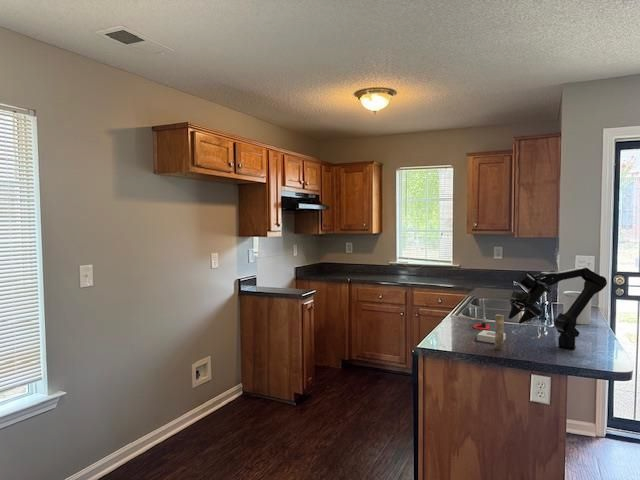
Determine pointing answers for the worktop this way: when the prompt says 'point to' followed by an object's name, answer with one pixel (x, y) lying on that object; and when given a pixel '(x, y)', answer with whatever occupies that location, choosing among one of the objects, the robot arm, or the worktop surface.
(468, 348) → the worktop surface
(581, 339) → the worktop surface
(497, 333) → the pin
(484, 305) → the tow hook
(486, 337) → the socket block
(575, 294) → the utensil holder
